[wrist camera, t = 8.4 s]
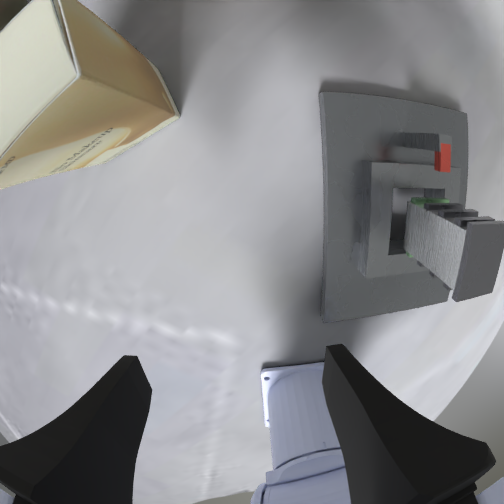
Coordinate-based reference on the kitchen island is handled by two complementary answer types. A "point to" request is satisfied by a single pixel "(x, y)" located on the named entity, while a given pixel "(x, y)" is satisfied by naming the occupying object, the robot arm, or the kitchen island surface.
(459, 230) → the grey ribbed block
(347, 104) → the stand base
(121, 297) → the kitchen island surface
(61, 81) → the skincare box
